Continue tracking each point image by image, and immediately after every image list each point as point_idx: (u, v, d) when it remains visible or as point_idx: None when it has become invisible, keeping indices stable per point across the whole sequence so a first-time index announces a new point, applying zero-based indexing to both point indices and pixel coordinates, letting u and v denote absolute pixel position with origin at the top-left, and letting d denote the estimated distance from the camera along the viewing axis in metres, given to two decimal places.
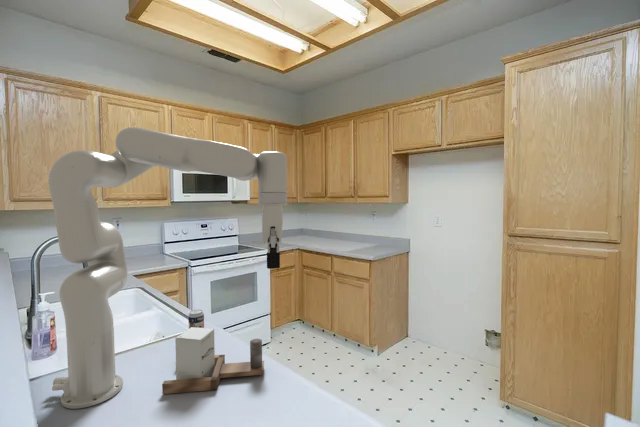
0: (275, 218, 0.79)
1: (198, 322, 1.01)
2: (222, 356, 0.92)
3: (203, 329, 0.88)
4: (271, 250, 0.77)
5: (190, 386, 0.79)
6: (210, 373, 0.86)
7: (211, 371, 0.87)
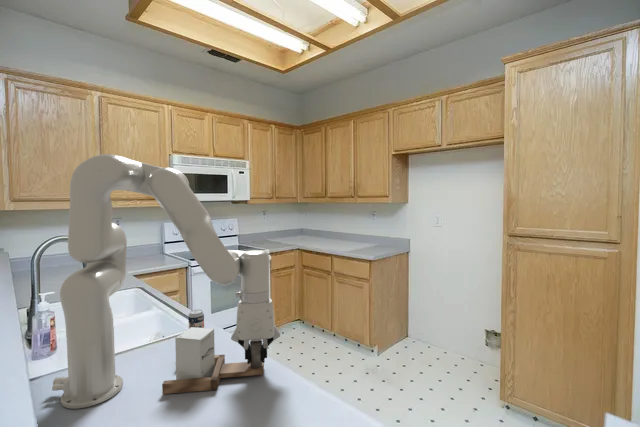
0: None
1: (198, 322, 1.01)
2: (222, 356, 0.92)
3: (203, 329, 0.88)
4: None
5: (190, 386, 0.79)
6: (210, 373, 0.86)
7: (211, 371, 0.87)
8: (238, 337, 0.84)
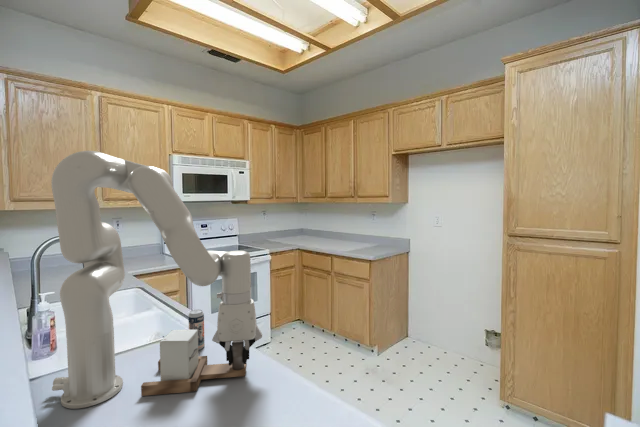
0: None
1: (198, 322, 1.01)
2: (204, 357, 0.91)
3: (186, 330, 0.87)
4: None
5: (169, 388, 0.79)
6: None
7: None
8: (219, 338, 0.84)
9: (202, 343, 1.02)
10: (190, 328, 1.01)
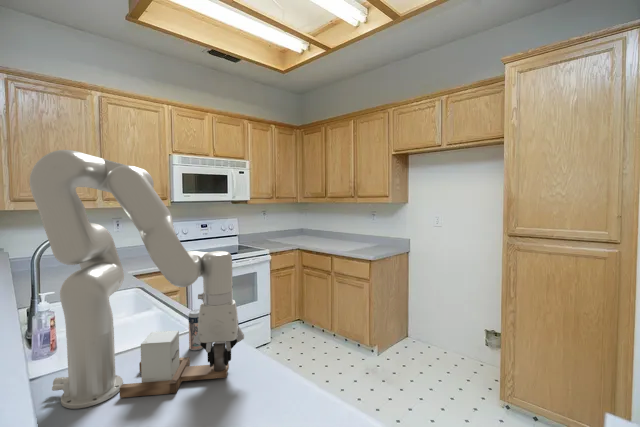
0: None
1: None
2: (187, 359, 0.91)
3: (167, 332, 0.86)
4: None
5: (148, 389, 0.78)
6: None
7: None
8: (199, 339, 0.83)
9: None
10: (190, 328, 1.01)
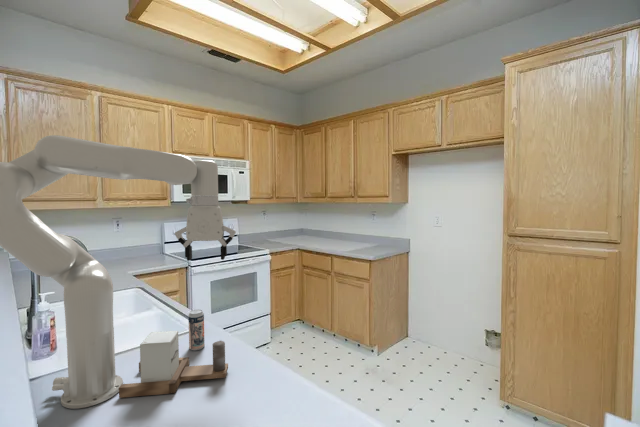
0: (222, 217, 0.96)
1: (198, 322, 1.01)
2: (186, 359, 0.91)
3: (166, 332, 0.86)
4: None
5: (148, 390, 0.78)
6: None
7: None
8: (188, 238, 0.92)
9: (202, 343, 1.02)
10: (190, 328, 1.01)
